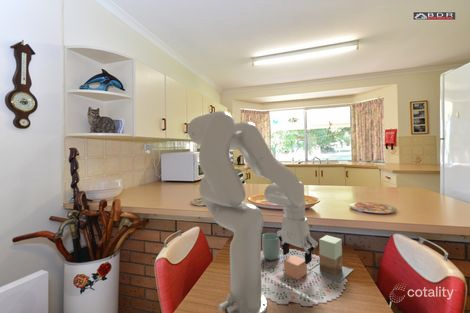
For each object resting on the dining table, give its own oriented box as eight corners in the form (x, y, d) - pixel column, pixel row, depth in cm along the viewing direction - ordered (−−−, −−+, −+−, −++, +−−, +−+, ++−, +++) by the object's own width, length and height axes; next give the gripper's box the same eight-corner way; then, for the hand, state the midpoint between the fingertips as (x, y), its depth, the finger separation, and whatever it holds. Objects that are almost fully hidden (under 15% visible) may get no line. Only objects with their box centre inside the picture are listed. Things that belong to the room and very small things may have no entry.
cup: (280, 263, 93) (279, 239, 93) (261, 261, 95) (261, 238, 95) (280, 254, 101) (279, 233, 101) (263, 253, 103) (262, 232, 102)
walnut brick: (335, 275, 82) (334, 259, 82) (319, 269, 86) (319, 254, 86) (342, 269, 86) (341, 254, 86) (327, 264, 90) (326, 249, 90)
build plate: (339, 284, 77) (339, 281, 77) (308, 271, 86) (308, 268, 86) (353, 272, 85) (353, 269, 85) (323, 261, 94) (323, 258, 94)
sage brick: (334, 259, 82) (334, 243, 81) (319, 254, 86) (319, 239, 86) (341, 254, 86) (341, 239, 85) (326, 249, 90) (326, 235, 90)
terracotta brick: (297, 282, 80) (297, 265, 80) (284, 275, 84) (283, 260, 84) (306, 275, 84) (306, 260, 84) (293, 269, 88) (293, 254, 88)
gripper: (270, 211, 88) (272, 254, 89) (310, 221, 75) (312, 270, 76) (282, 207, 93) (284, 247, 94) (321, 215, 80) (323, 262, 81)
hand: (296, 257), depth 85 cm, fingers open, 9 cm apart
